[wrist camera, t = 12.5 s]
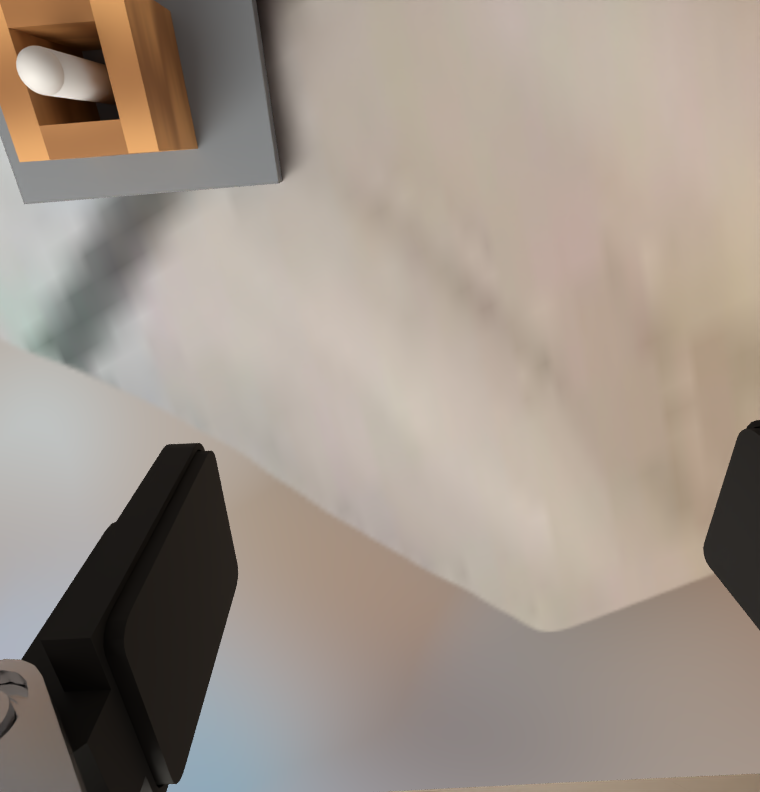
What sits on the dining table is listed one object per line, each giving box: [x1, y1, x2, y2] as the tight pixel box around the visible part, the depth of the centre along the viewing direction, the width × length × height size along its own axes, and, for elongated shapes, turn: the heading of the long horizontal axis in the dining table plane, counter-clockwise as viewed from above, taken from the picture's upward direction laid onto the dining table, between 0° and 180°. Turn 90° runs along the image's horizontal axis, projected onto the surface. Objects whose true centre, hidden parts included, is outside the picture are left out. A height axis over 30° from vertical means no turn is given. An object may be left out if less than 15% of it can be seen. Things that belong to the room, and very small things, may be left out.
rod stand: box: [0, 0, 282, 204], centre depth 24 cm, size 10×14×10 cm
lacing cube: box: [0, 0, 198, 162], centre depth 24 cm, size 6×6×6 cm
